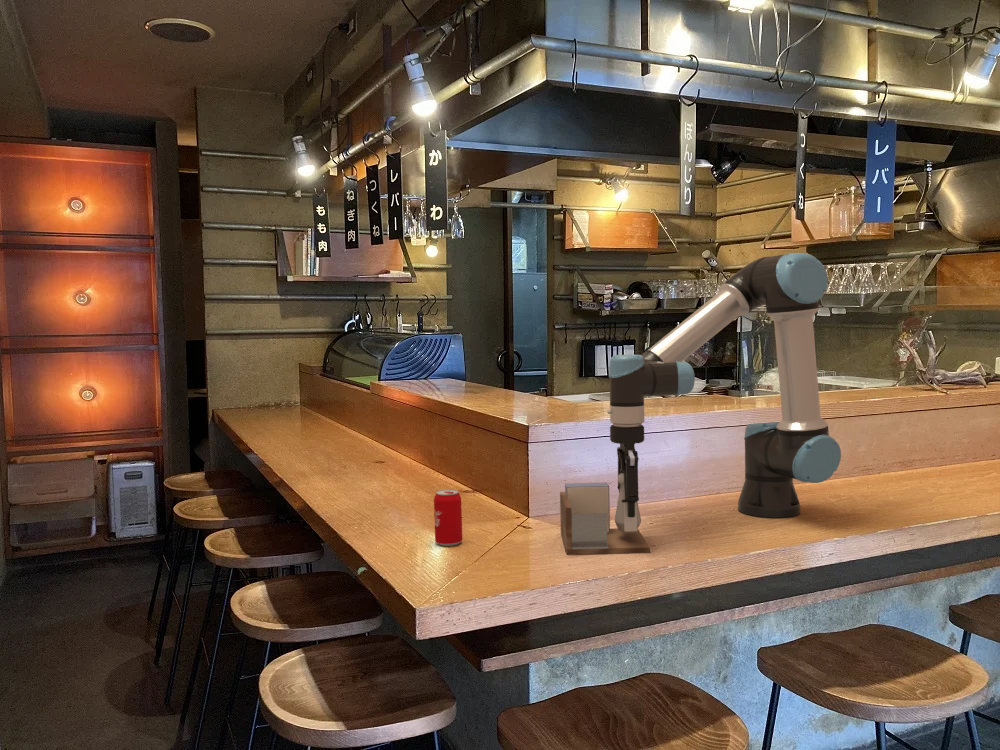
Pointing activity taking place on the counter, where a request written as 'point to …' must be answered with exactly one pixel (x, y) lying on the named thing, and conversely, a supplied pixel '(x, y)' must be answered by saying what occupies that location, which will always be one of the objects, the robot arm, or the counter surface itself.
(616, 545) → the wooden l-bracket
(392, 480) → the counter surface
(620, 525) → the salt shaker
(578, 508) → the book block
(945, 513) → the counter surface
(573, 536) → the bookend
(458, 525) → the beverage can
